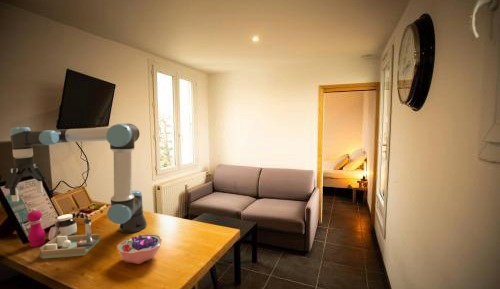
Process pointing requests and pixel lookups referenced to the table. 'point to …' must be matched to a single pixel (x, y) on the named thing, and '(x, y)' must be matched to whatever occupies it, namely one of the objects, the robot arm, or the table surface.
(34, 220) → the pepper mill
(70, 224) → the spread jar
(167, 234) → the table surface
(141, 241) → the cell model
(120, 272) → the table surface
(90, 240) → the kicker rod
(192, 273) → the table surface
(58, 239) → the beige tray
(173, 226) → the table surface
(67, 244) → the ball
